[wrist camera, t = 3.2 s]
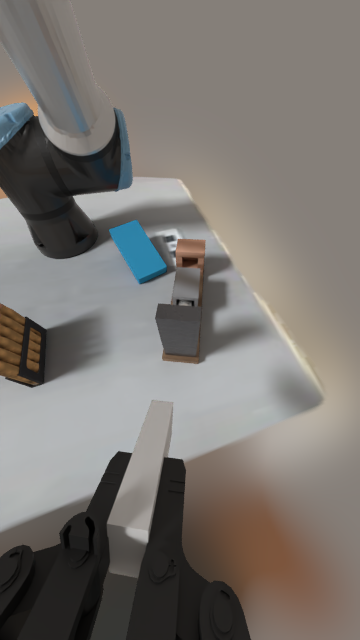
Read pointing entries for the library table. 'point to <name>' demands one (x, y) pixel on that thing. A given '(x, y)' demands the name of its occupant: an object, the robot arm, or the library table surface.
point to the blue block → (138, 251)
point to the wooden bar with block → (188, 283)
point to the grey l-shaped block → (179, 328)
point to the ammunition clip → (21, 348)
